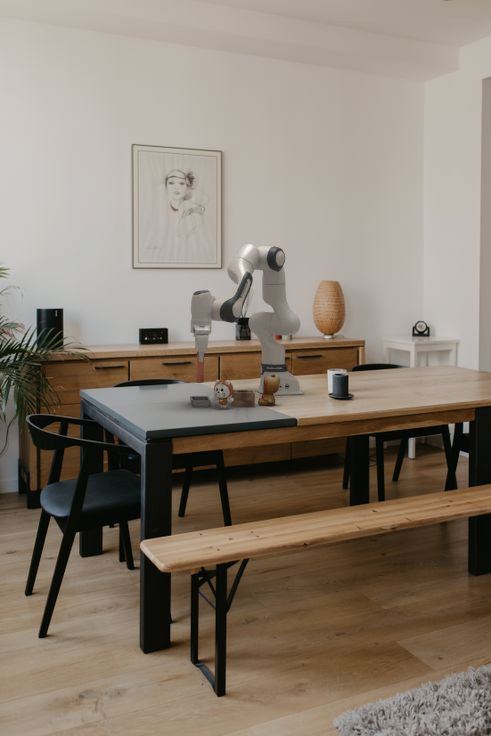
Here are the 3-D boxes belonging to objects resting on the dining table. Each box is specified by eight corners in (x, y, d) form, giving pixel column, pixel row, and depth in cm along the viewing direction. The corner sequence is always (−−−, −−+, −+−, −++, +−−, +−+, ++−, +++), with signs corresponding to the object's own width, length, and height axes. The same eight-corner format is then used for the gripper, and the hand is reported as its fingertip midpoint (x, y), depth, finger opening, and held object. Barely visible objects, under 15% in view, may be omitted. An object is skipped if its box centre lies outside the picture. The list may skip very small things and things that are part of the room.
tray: (208, 402, 304) (208, 396, 303) (210, 407, 293) (210, 400, 292) (189, 402, 302) (189, 396, 302) (191, 407, 292) (191, 400, 291)
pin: (203, 381, 298) (203, 351, 297) (203, 382, 295) (204, 352, 294) (196, 381, 298) (196, 351, 296) (196, 382, 295) (197, 352, 293)
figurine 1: (207, 409, 288) (208, 380, 287) (217, 405, 296) (217, 378, 295) (227, 411, 284) (228, 382, 283) (236, 407, 292) (237, 379, 291)
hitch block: (251, 403, 304) (251, 389, 304) (254, 406, 295) (255, 393, 295) (231, 403, 303) (231, 389, 302) (233, 407, 294) (234, 393, 293)
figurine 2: (255, 402, 306) (264, 370, 305) (272, 406, 307) (280, 374, 306) (258, 406, 296) (267, 373, 295) (274, 410, 297) (284, 377, 296)
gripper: (192, 327, 304) (191, 358, 305) (195, 330, 283) (194, 363, 285) (206, 327, 304) (205, 358, 306) (210, 330, 284) (209, 363, 286)
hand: (200, 361), depth 295 cm, fingers closed on pin, 3 cm apart
